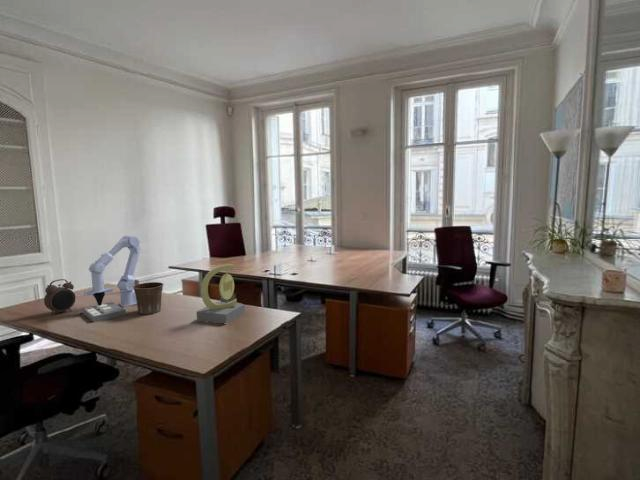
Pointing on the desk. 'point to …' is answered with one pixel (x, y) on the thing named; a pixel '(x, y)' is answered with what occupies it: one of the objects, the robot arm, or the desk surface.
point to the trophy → (219, 310)
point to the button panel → (98, 315)
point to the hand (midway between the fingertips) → (99, 305)
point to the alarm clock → (59, 297)
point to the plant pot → (148, 297)
